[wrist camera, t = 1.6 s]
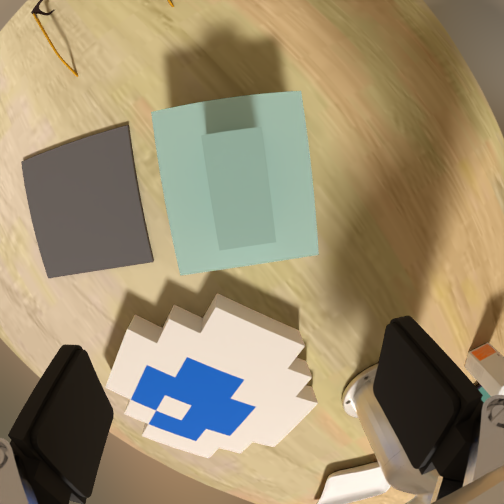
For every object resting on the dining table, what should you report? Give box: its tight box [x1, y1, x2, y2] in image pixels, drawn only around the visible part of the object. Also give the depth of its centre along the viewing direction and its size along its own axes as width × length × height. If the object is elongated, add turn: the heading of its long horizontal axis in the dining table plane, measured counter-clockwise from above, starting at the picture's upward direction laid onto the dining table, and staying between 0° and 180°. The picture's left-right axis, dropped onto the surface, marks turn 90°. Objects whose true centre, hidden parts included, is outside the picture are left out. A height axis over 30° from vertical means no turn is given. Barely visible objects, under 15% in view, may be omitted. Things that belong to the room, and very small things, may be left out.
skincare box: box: [465, 342, 504, 396], centre depth 39 cm, size 6×4×12 cm
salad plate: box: [317, 462, 391, 504], centre depth 54 cm, size 21×21×3 cm
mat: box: [21, 125, 154, 278], centre depth 32 cm, size 16×16×1 cm
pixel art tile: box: [106, 293, 318, 458], centre depth 39 cm, size 28×4×28 cm
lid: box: [151, 91, 319, 275], centre depth 23 cm, size 13×15×6 cm
